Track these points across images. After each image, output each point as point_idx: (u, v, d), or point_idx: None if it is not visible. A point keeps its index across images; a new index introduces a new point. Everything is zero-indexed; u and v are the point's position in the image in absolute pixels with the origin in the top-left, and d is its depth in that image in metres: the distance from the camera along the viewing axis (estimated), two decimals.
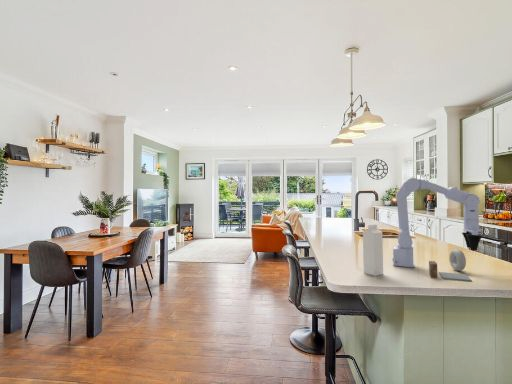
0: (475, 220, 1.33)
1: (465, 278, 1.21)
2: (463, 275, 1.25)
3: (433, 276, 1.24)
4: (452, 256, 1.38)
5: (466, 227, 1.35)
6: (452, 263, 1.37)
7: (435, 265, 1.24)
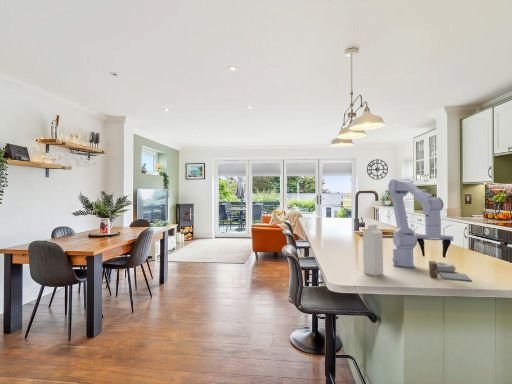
0: (426, 225, 1.28)
1: (465, 278, 1.21)
2: (463, 275, 1.25)
3: (433, 276, 1.24)
4: None
5: None
6: None
7: (435, 265, 1.24)
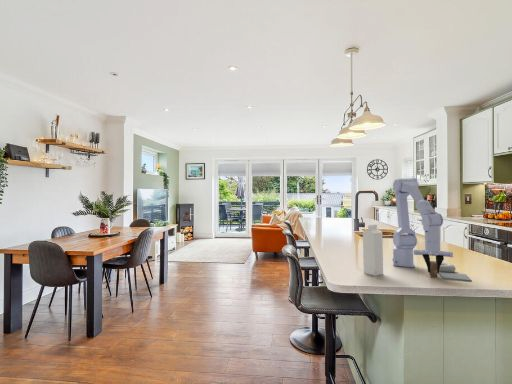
0: (425, 241, 1.27)
1: (465, 278, 1.21)
2: (463, 275, 1.25)
3: (433, 276, 1.24)
4: None
5: None
6: None
7: (435, 265, 1.24)
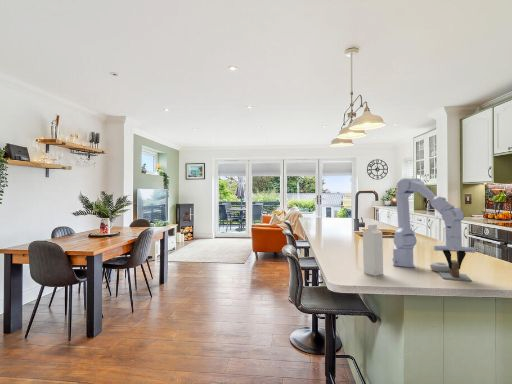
0: (446, 237, 1.25)
1: (465, 278, 1.21)
2: (463, 275, 1.25)
3: (455, 275, 1.23)
4: None
5: None
6: None
7: (457, 264, 1.22)
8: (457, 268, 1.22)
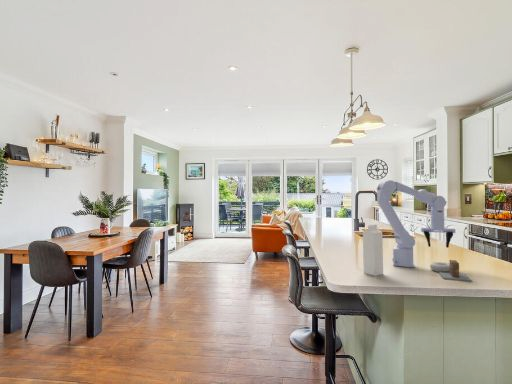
0: (431, 220, 1.46)
1: (465, 278, 1.21)
2: (463, 275, 1.25)
3: (455, 275, 1.23)
4: None
5: None
6: None
7: (457, 264, 1.22)
8: (457, 268, 1.22)
